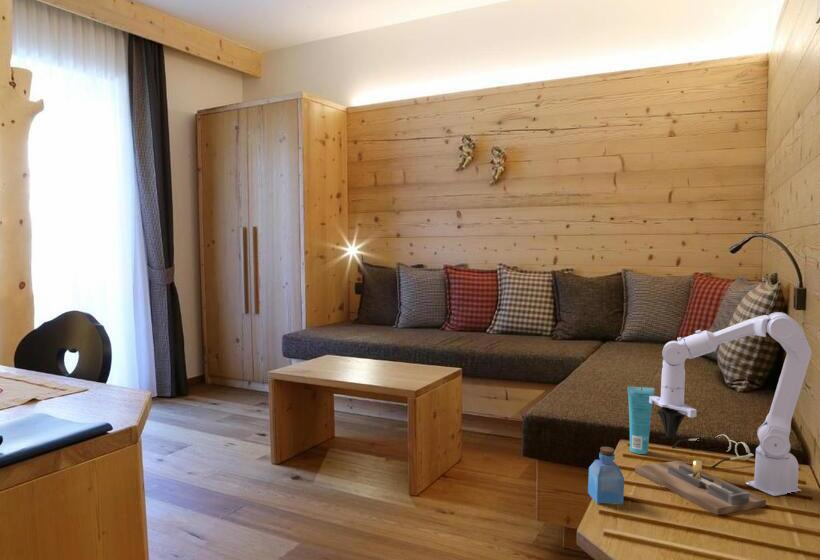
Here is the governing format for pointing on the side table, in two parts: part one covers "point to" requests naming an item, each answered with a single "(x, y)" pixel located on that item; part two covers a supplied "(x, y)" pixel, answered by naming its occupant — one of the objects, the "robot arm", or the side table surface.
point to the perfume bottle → (606, 479)
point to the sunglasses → (728, 450)
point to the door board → (700, 488)
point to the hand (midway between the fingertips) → (670, 436)
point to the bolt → (697, 474)
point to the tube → (639, 418)
